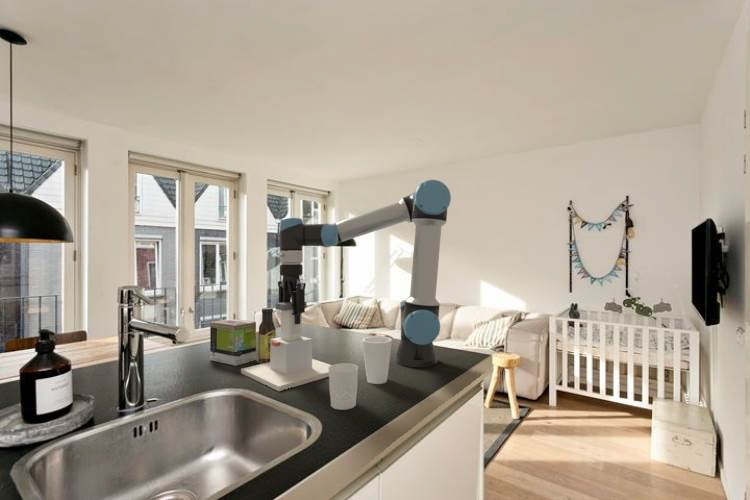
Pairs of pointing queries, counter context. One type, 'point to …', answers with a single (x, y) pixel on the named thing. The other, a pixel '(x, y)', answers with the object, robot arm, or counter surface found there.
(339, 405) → the white cup
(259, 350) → the sauce bottle
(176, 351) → the counter surface
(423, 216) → the robot arm
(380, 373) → the foam cup
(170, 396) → the counter surface
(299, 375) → the post stand
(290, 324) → the post
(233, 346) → the tea box
